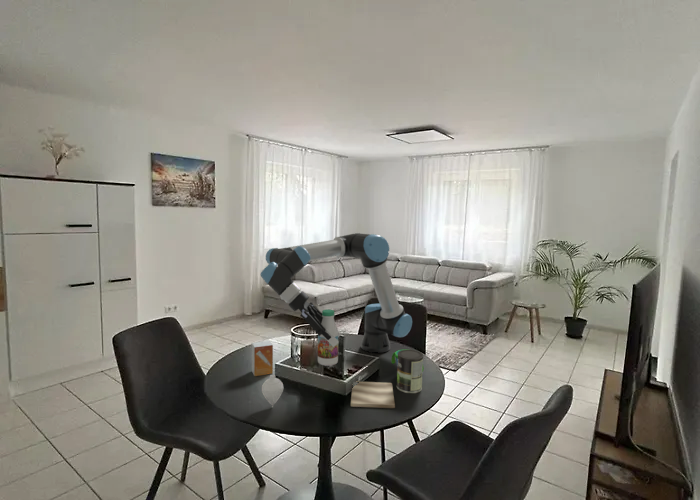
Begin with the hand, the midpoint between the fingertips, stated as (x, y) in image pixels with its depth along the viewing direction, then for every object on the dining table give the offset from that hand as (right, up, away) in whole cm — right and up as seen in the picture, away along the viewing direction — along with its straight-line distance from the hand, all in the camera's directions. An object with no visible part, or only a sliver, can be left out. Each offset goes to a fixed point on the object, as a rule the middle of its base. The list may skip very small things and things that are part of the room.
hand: (337, 340), depth 144 cm
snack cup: (+29, -21, +22) cm, 42 cm away
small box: (-34, -20, +23) cm, 45 cm away
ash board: (+14, -22, +4) cm, 26 cm away
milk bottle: (-4, -9, +1) cm, 9 cm away
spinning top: (-23, -23, -6) cm, 33 cm away
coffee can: (+29, -22, +11) cm, 38 cm away
